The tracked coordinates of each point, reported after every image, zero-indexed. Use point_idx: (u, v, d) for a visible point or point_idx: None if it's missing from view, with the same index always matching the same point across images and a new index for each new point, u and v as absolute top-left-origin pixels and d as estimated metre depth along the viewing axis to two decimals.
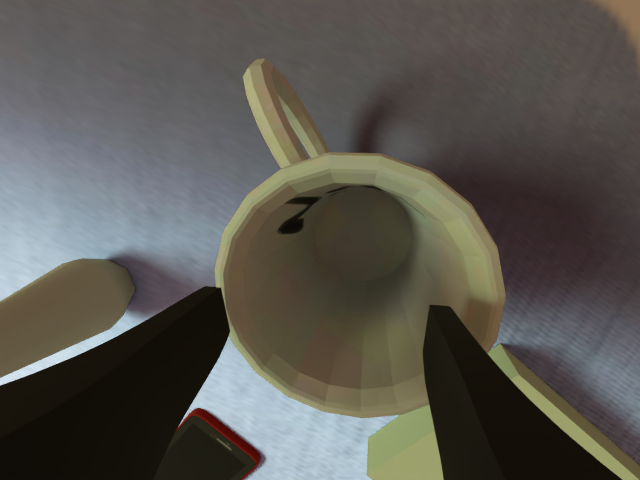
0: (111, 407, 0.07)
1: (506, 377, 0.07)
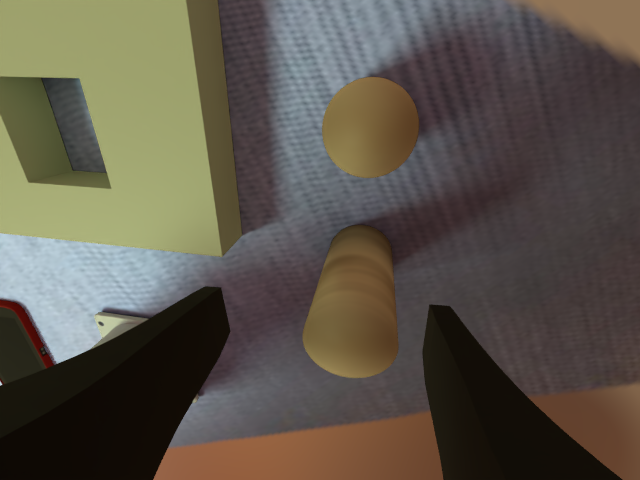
0: (111, 407, 0.07)
1: (506, 377, 0.07)
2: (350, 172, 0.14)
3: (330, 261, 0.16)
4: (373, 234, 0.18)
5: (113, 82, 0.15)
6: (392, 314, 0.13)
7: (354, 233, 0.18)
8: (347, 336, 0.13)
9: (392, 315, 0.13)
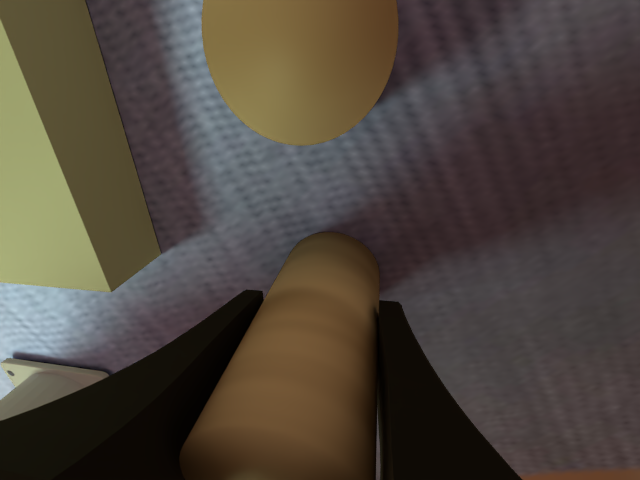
0: (174, 418, 0.06)
1: (430, 368, 0.07)
2: (272, 136, 0.07)
3: (266, 299, 0.10)
4: (345, 247, 0.11)
5: None
6: (362, 425, 0.06)
7: (314, 247, 0.11)
8: (266, 479, 0.06)
9: (361, 429, 0.06)
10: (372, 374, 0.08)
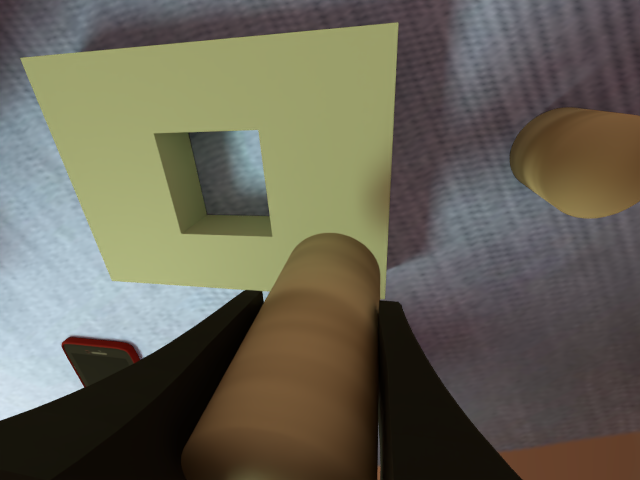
0: (174, 418, 0.06)
1: (430, 368, 0.07)
2: (570, 213, 0.13)
3: (266, 301, 0.10)
4: (344, 247, 0.11)
5: (296, 132, 0.14)
6: (361, 424, 0.06)
7: (313, 248, 0.11)
8: None
9: (361, 427, 0.06)
10: (372, 373, 0.08)
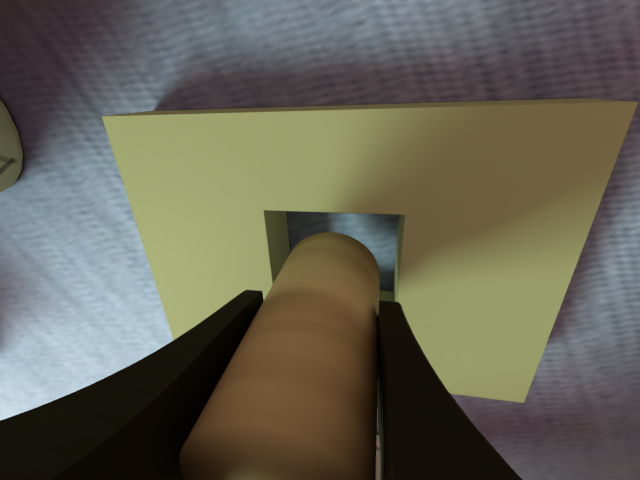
0: (174, 418, 0.06)
1: (430, 368, 0.07)
2: None
3: (264, 301, 0.10)
4: (343, 246, 0.11)
5: (455, 221, 0.11)
6: (359, 423, 0.06)
7: (312, 247, 0.11)
8: (265, 479, 0.06)
9: (359, 426, 0.06)
10: (371, 372, 0.08)
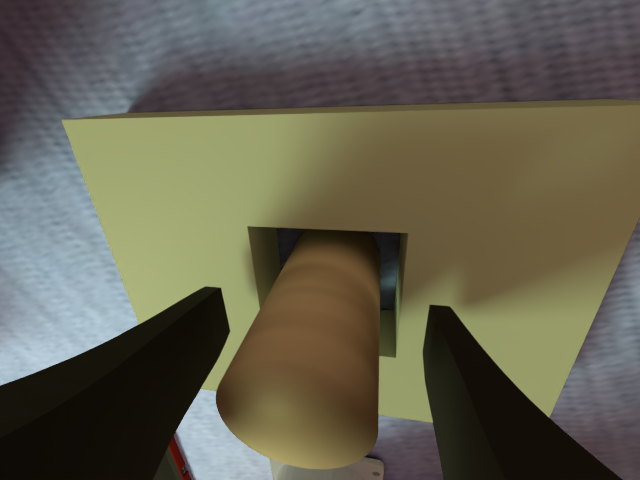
0: (111, 407, 0.07)
1: (506, 377, 0.07)
2: None
3: (280, 275, 0.11)
4: None
5: (466, 240, 0.10)
6: (365, 363, 0.07)
7: (320, 230, 0.13)
8: (288, 408, 0.07)
9: (364, 365, 0.07)
10: (373, 329, 0.09)
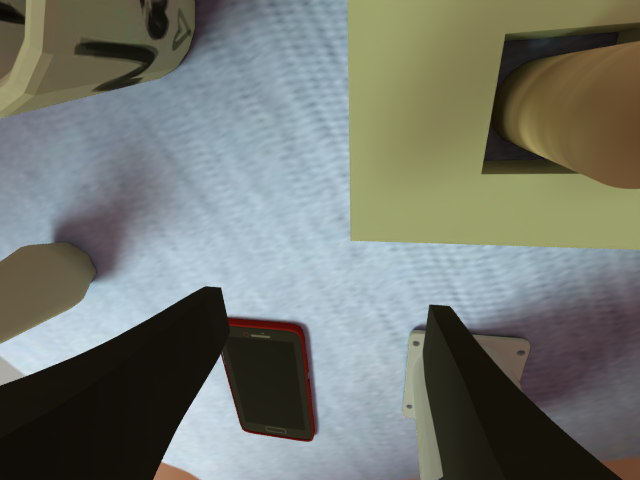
0: (111, 407, 0.07)
1: (506, 377, 0.07)
2: None
3: (540, 74, 0.12)
4: None
5: None
6: None
7: (544, 58, 0.14)
8: None
9: None
10: None
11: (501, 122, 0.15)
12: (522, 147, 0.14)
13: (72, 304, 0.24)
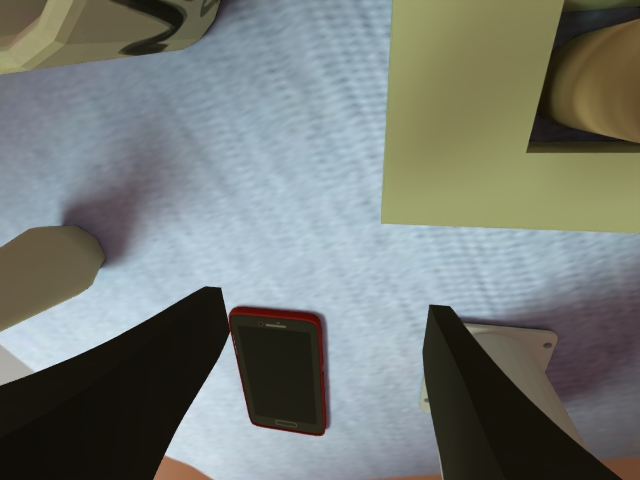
0: (111, 407, 0.07)
1: (506, 377, 0.07)
2: None
3: (602, 41, 0.11)
4: None
5: None
6: None
7: None
8: None
9: None
10: None
11: (547, 99, 0.14)
12: (570, 125, 0.14)
13: (81, 290, 0.23)
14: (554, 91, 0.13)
